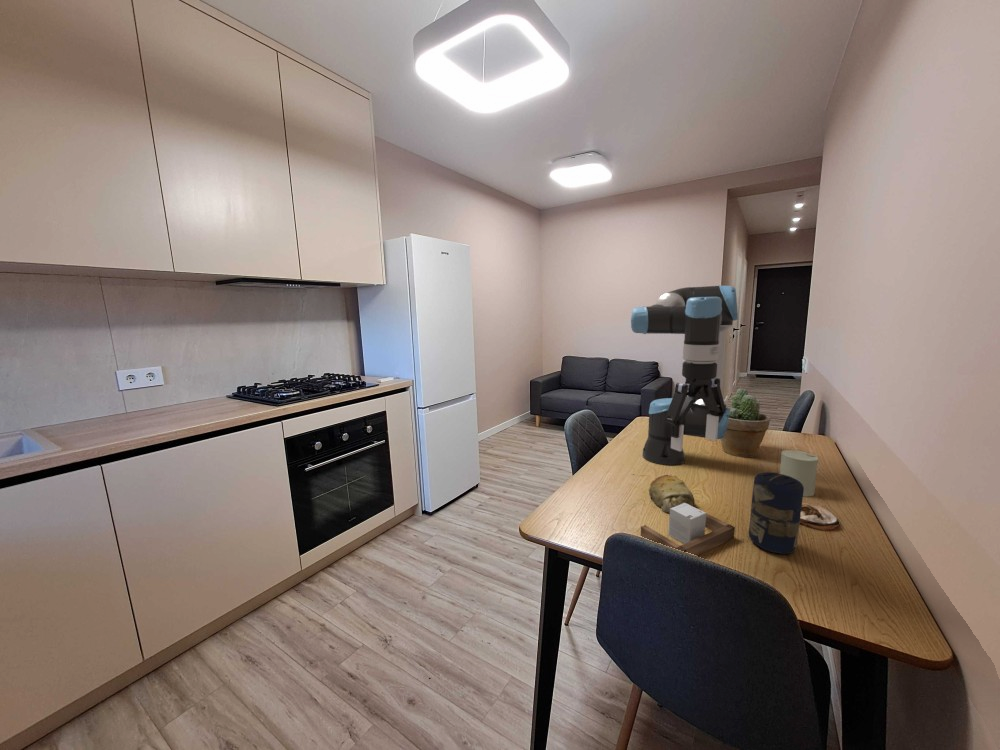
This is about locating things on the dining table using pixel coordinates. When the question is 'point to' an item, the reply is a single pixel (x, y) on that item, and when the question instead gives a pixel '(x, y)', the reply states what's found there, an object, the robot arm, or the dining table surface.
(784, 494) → the canister
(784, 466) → the can
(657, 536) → the bay
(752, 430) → the potted plant
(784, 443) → the dining table surface
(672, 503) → the pastry
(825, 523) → the sushi roll
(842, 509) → the dining table surface
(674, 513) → the skincare box
